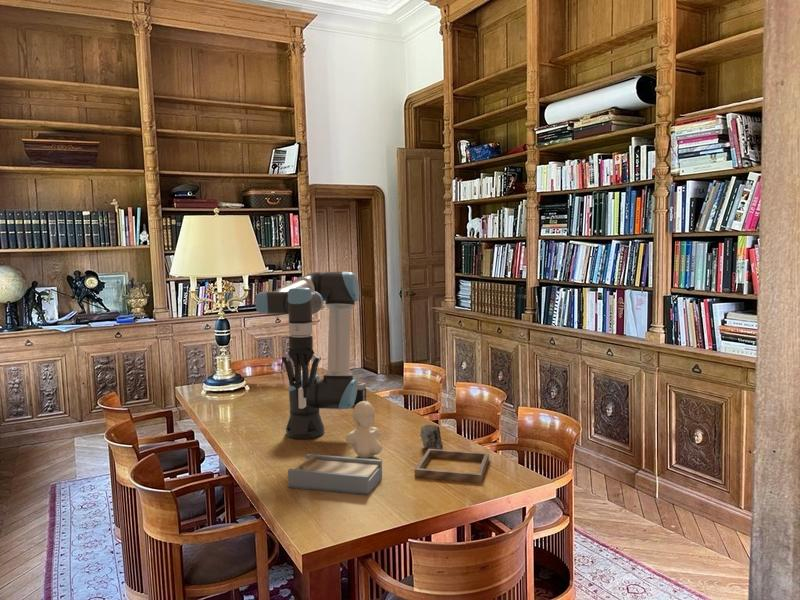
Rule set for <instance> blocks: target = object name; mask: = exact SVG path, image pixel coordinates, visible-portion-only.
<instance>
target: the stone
mask: <svg viewBox="0 0 800 600" xmlns="http://www.w3.org/2000/svg"><path fill="white" fill-rule="evenodd" d="M420 438H421V441H422V445H423V447H424V448H426V449H427V450H428V449H439V450H444V447H443V446H444V445H443V442H442V437H441V429H440V427H439V425H434V424H425V425H423V426H421V427H420Z"/></svg>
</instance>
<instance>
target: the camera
mask: <svg viewBox="0 0 800 600" xmlns="http://www.w3.org/2000/svg"><path fill="white" fill-rule="evenodd" d="M357 386H358V387H357V395H356V399H355V402H354V403H355V404H354V405H356V404H358V403H359V402H361V401H367V383H365V382H361V381H359V382H358V381H357Z"/></svg>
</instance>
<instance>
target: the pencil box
mask: <svg viewBox="0 0 800 600" xmlns="http://www.w3.org/2000/svg"><path fill="white" fill-rule="evenodd" d="M311 456H316V458H317V460H329V461H341V462H353V463H364V464H376V465H378V468H377V469H376V471H375V472H374V473H373V474H372V475H371V477H370V478H369V476H365V475H354V474H343V473H332V472H321V471H310V470H299V469H296V468H289V469H287V482H288V483H287V484H288V488H291V489H301V490H310V491H311V490H312V491H319V492H320V491H321V492H330V493H341V494H349V495H350V494H352V495H353V494H354V495H362V496H369V495H370V493H371V492H372V491H373V489H374V488H375V487H376V486H377V484H378V483H379V482H380V480H381V479H382V478H383V460H382V459H376V458H375V459H374V458H361V457H350V456H349V457H348V456H337V455H325V454H315V453H313V454H312V453H307V454H306V455H305V460H306V459H309V458H310V457H311Z"/></svg>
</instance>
